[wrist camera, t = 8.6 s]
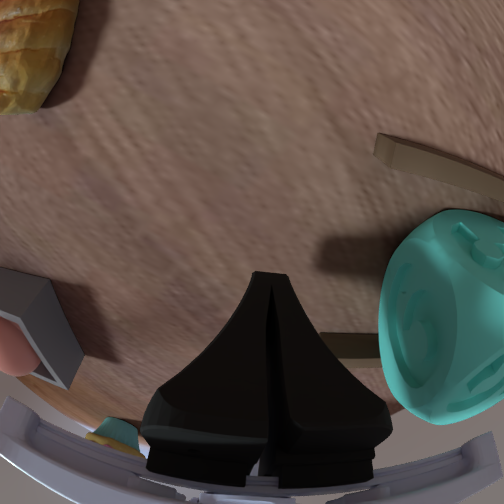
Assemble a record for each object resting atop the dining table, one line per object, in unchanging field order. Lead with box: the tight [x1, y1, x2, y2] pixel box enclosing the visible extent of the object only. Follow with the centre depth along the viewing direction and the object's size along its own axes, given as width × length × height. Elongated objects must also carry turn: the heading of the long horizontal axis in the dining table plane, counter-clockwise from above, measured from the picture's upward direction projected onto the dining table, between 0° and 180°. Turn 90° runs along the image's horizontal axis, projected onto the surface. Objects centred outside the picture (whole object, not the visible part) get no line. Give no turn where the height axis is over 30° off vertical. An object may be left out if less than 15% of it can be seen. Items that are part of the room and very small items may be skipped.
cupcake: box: [85, 417, 146, 459], centre depth 26 cm, size 9×8×12 cm
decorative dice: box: [379, 209, 504, 425], centre depth 11 cm, size 8×8×8 cm
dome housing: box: [0, 267, 85, 390], centre depth 17 cm, size 9×9×4 cm
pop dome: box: [0, 316, 41, 376], centre depth 16 cm, size 6×6×6 cm
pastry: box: [0, 0, 80, 115], centre depth 6 cm, size 9×7×4 cm
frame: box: [319, 133, 504, 368], centre depth 13 cm, size 13×12×2 cm
